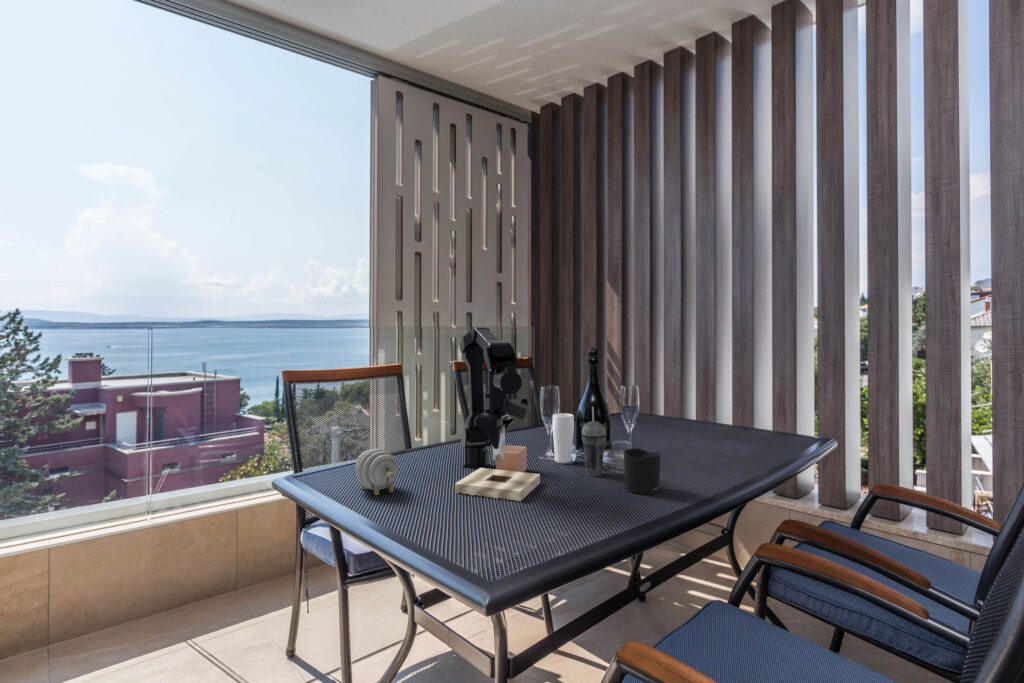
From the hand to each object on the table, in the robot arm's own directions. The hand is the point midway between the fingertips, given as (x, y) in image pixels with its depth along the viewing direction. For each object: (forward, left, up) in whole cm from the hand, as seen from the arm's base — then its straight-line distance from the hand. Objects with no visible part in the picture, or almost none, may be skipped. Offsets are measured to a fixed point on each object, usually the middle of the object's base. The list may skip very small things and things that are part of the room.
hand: (498, 447), depth 140 cm
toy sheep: (-29, -14, -11) cm, 34 cm away
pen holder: (+36, +12, -11) cm, 40 cm away
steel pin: (0, 0, -3) cm, 3 cm away
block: (-2, +15, -11) cm, 19 cm away
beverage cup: (+21, +22, -11) cm, 32 cm away
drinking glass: (+9, +32, -11) cm, 35 cm away
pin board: (0, 0, -11) cm, 11 cm away
